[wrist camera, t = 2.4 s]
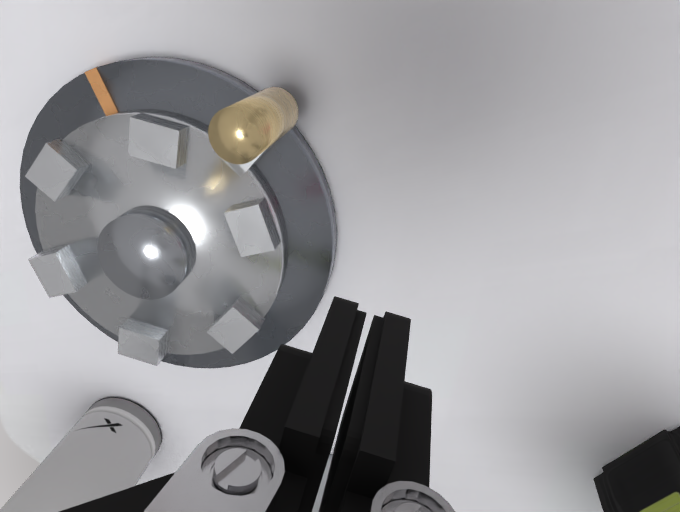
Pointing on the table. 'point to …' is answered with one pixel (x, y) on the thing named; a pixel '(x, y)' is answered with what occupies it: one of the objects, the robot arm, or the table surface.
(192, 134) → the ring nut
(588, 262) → the table surface
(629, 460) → the cordless drill
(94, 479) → the travel mug
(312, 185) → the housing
